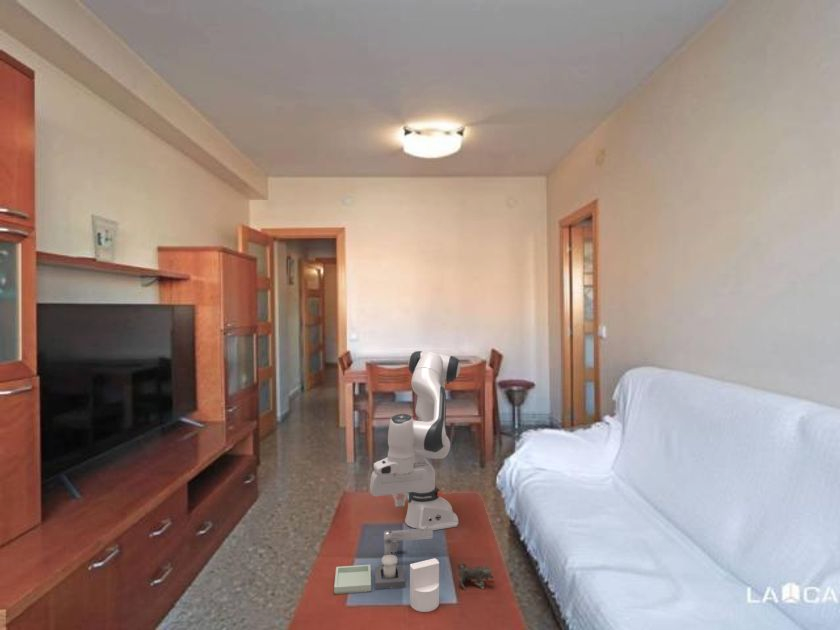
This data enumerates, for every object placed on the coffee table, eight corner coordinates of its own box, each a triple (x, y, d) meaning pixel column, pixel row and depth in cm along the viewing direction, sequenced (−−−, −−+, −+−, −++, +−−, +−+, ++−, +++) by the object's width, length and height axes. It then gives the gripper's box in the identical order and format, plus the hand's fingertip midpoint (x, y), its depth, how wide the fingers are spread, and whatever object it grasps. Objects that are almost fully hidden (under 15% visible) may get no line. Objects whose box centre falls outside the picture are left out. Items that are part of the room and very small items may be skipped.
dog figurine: (458, 590, 147) (458, 567, 147) (457, 580, 153) (457, 558, 153) (495, 590, 147) (495, 567, 147) (493, 580, 153) (493, 558, 153)
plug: (396, 574, 156) (396, 554, 156) (397, 583, 151) (397, 562, 151) (381, 575, 155) (381, 555, 155) (381, 584, 150) (382, 563, 150)
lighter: (385, 552, 170) (385, 531, 170) (386, 550, 172) (386, 528, 171) (404, 553, 169) (404, 532, 169) (404, 551, 171) (404, 530, 170)
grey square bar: (384, 542, 161) (384, 534, 161) (383, 538, 164) (383, 530, 164) (433, 539, 164) (433, 531, 164) (431, 535, 166) (431, 527, 166)
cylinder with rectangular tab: (416, 615, 135) (416, 574, 135) (405, 597, 144) (405, 559, 143) (444, 607, 139) (444, 568, 139) (431, 590, 147) (431, 553, 147)
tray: (370, 570, 158) (370, 564, 158) (371, 591, 146) (371, 584, 146) (336, 573, 157) (336, 566, 157) (334, 594, 145) (334, 587, 145)
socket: (400, 559, 165) (401, 538, 165) (405, 587, 149) (405, 563, 149) (374, 561, 164) (374, 539, 164) (375, 589, 148) (375, 565, 148)
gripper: (426, 458, 160) (425, 498, 160) (369, 463, 153) (368, 505, 153) (433, 464, 154) (432, 505, 154) (373, 469, 147) (372, 513, 147)
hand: (399, 505), depth 154 cm, fingers closed
